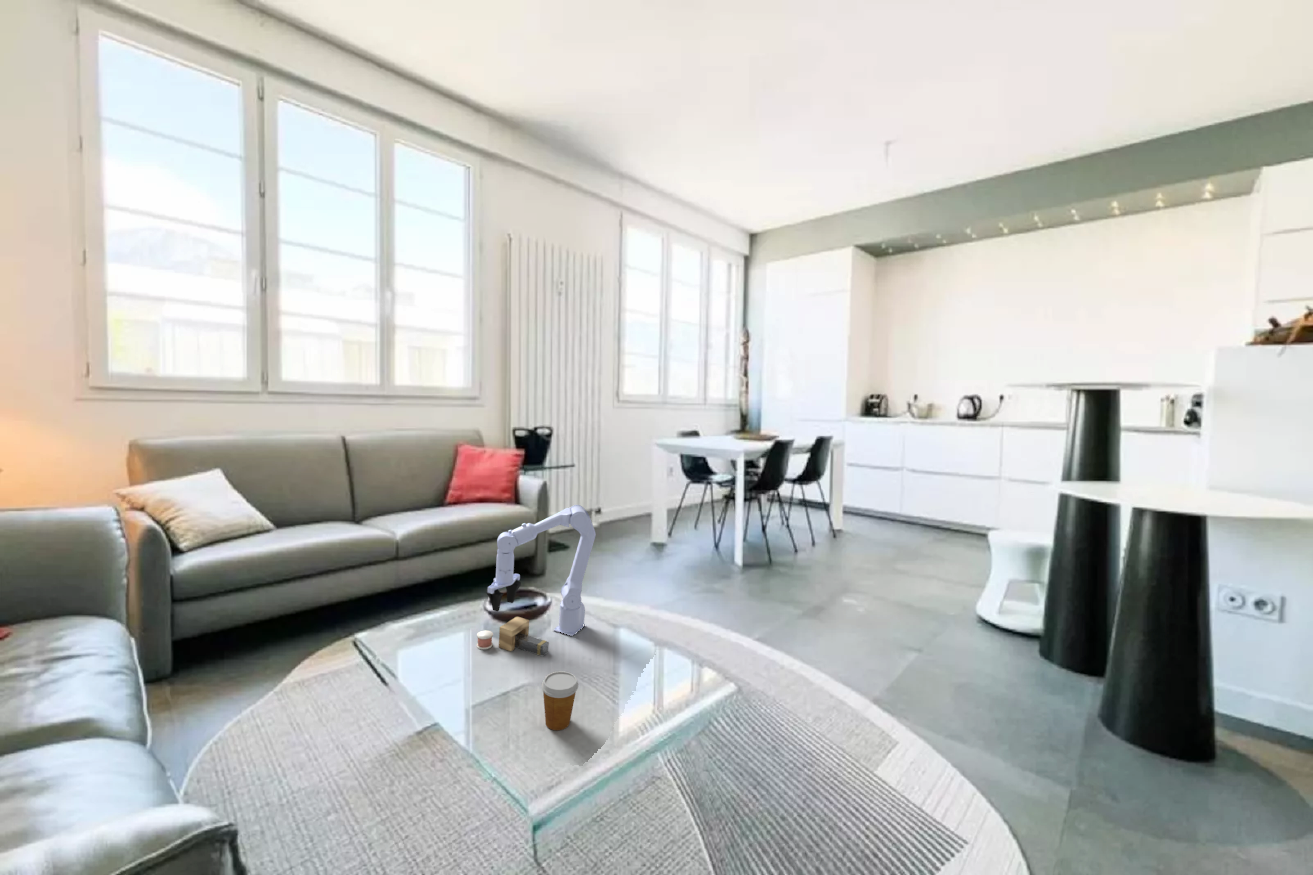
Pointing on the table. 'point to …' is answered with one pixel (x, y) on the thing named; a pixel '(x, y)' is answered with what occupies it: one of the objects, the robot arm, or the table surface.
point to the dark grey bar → (531, 644)
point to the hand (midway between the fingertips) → (503, 606)
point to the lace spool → (484, 639)
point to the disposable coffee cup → (559, 698)
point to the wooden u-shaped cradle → (512, 632)
